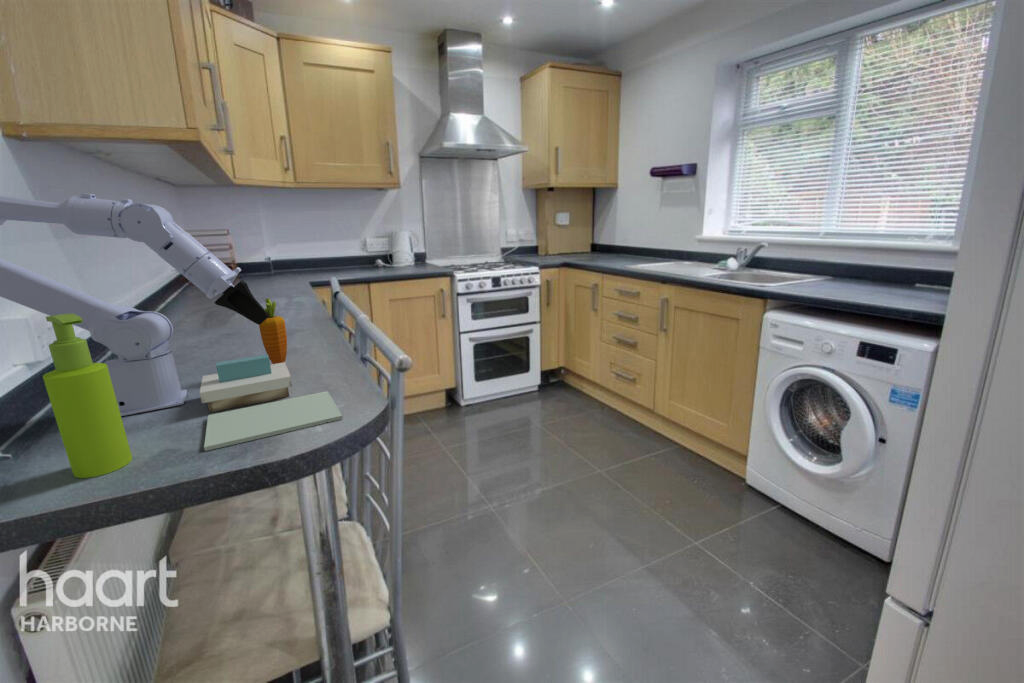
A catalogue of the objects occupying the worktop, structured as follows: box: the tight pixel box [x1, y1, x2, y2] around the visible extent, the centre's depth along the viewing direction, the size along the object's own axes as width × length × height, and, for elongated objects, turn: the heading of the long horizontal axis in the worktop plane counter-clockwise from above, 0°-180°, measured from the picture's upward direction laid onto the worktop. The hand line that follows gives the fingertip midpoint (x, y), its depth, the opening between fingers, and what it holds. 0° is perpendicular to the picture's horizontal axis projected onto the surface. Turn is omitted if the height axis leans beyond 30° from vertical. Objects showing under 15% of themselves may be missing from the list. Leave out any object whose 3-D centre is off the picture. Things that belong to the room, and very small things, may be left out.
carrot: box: [258, 298, 288, 364], centre depth 96 cm, size 5×5×15 cm
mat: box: [203, 390, 343, 452], centre depth 73 cm, size 18×13×1 cm
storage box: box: [207, 387, 290, 413], centre depth 83 cm, size 12×9×3 cm
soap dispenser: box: [42, 313, 133, 479], centre depth 58 cm, size 6×7×20 cm
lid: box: [199, 353, 293, 404], centre depth 83 cm, size 13×10×5 cm
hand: (264, 320), depth 84 cm, fingers open, 7 cm apart
